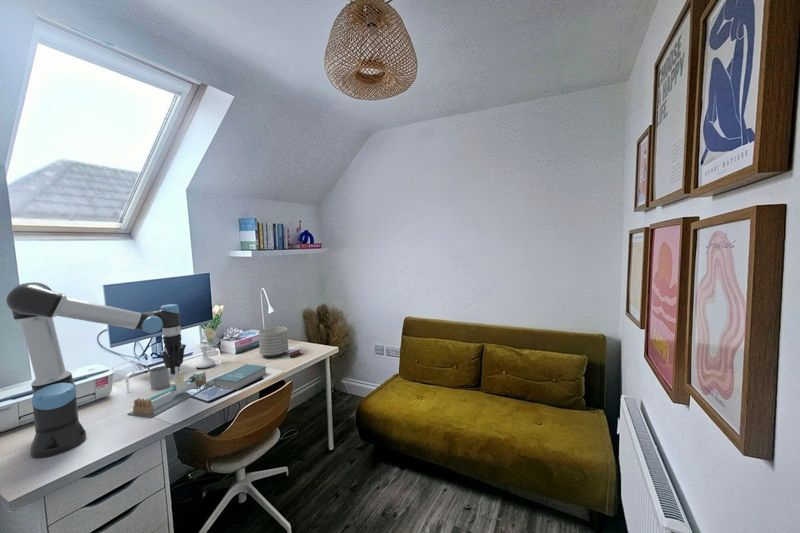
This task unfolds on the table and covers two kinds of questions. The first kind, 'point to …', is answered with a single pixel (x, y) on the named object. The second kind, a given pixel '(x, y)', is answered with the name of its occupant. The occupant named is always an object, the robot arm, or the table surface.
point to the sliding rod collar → (179, 383)
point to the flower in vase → (205, 360)
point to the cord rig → (168, 398)
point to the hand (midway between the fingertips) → (175, 379)
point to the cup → (159, 377)
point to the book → (240, 376)
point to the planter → (273, 341)
